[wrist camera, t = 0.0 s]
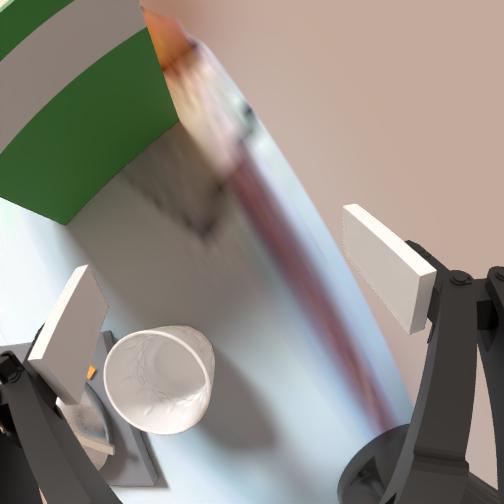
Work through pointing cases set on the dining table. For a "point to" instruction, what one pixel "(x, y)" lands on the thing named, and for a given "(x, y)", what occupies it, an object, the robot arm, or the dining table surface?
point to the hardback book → (75, 99)
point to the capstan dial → (90, 426)
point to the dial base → (112, 424)
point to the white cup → (161, 378)
